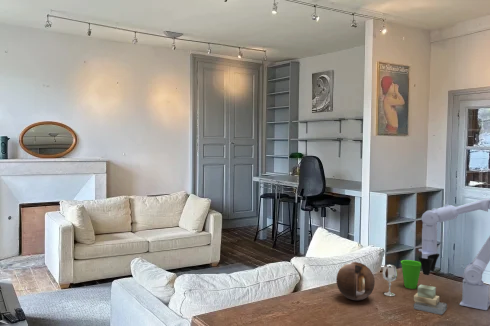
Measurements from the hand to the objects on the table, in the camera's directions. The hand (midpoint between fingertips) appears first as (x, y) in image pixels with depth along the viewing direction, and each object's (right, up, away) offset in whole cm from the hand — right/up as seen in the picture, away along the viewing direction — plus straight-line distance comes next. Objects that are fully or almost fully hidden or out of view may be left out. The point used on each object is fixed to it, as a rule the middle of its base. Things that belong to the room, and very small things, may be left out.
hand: (428, 272), depth 176 cm
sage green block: (-5, -9, -10) cm, 14 cm away
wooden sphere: (-31, -10, -3) cm, 33 cm away
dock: (-5, -11, -13) cm, 17 cm away
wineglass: (-15, -10, +4) cm, 19 cm away
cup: (-2, -10, +14) cm, 18 cm away
